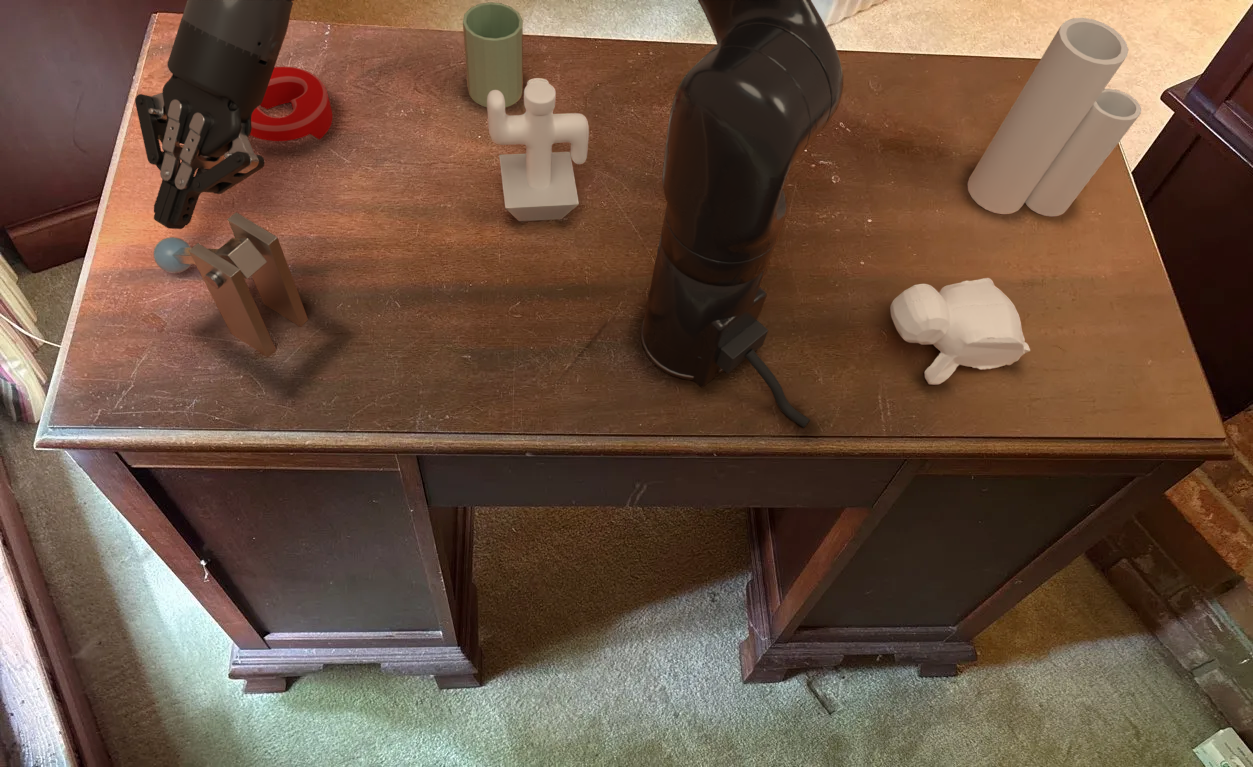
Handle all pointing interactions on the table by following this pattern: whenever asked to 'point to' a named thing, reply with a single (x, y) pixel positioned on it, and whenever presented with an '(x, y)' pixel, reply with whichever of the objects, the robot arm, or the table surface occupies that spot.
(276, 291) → the brown upright slabs
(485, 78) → the cup
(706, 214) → the robot arm
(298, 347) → the table surface
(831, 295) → the table surface
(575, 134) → the figurine
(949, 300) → the white low-poly sculpture
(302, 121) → the decorative ornament
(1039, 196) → the vase
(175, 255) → the ball-ended lever
